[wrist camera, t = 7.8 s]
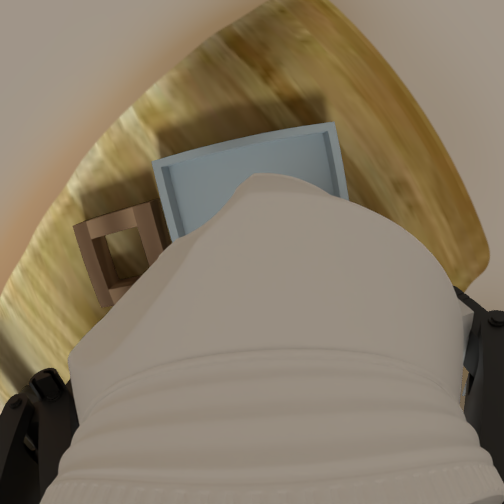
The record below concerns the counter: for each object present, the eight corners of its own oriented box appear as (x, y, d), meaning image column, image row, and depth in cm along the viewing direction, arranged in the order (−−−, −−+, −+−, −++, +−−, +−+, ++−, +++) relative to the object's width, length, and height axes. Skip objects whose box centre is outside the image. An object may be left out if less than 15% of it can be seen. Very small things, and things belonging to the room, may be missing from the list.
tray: (202, 311, 34) (197, 324, 31) (161, 161, 29) (151, 161, 26) (351, 282, 33) (359, 293, 30) (327, 125, 28) (334, 121, 25)
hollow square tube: (111, 296, 34) (101, 307, 31) (86, 220, 31) (72, 225, 28) (183, 284, 33) (177, 295, 30) (159, 198, 30) (149, 202, 28)
